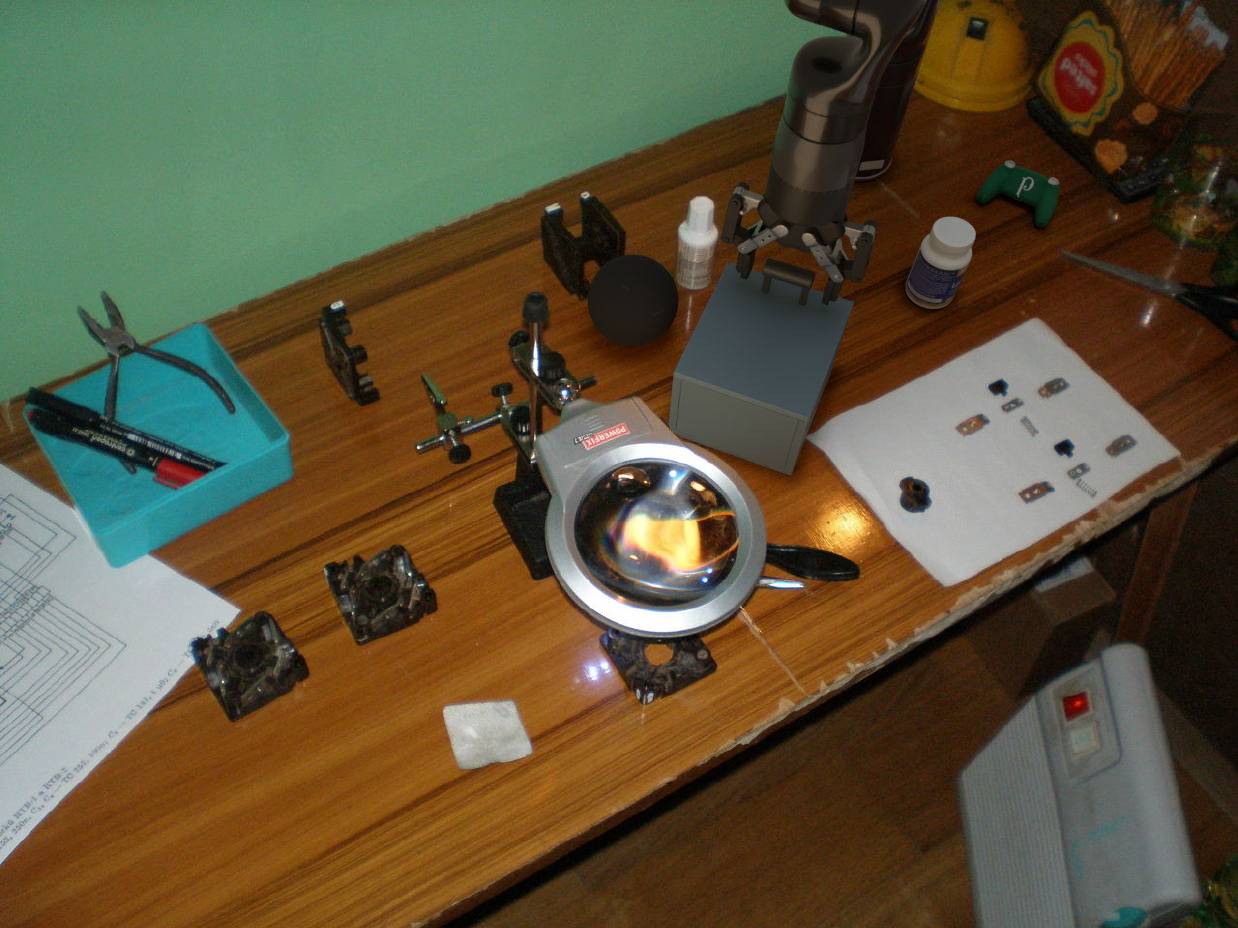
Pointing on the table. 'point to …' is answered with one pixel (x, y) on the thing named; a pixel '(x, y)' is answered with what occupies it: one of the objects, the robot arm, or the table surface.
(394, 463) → the table surface
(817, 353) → the lid
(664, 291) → the black ball
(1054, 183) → the gaming controller
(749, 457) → the grey box
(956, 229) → the pill bottle
